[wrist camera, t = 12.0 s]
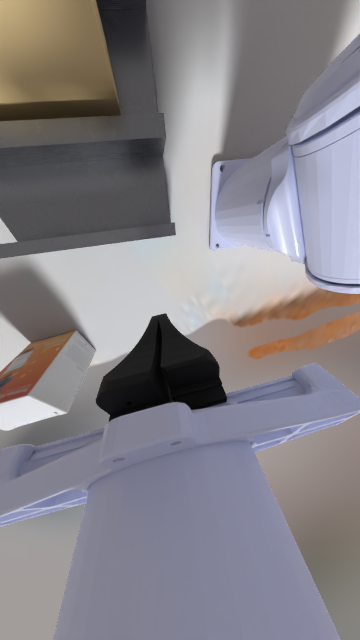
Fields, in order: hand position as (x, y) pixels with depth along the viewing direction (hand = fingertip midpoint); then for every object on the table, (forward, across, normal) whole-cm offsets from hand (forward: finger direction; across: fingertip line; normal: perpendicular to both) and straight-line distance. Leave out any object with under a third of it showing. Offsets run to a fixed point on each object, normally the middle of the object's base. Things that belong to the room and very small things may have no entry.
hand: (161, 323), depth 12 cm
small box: (+10, +18, +7) cm, 22 cm away
